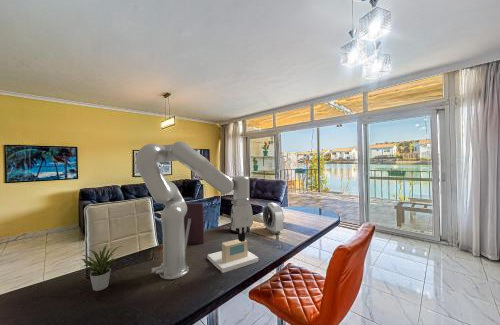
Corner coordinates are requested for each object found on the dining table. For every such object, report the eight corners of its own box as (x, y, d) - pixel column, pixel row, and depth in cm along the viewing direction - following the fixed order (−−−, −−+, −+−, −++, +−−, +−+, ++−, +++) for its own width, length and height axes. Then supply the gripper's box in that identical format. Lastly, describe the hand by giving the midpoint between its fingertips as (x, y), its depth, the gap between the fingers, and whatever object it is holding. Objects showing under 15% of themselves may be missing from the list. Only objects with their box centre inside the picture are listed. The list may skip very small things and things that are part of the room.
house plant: (116, 272, 100) (115, 237, 100) (129, 283, 91) (128, 244, 91) (77, 287, 89) (77, 247, 89) (87, 300, 80) (87, 256, 80)
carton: (221, 259, 109) (226, 262, 104) (221, 243, 108) (226, 246, 104) (242, 253, 115) (247, 256, 111) (242, 238, 115) (247, 241, 111)
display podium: (222, 273, 99) (222, 268, 99) (207, 258, 114) (207, 254, 114) (258, 261, 110) (258, 257, 110) (240, 249, 125) (240, 246, 125)
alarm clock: (262, 228, 163) (261, 201, 163) (271, 226, 167) (271, 200, 167) (274, 235, 147) (274, 205, 147) (285, 233, 151) (284, 204, 150)
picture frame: (204, 243, 136) (203, 202, 135) (198, 249, 126) (198, 206, 126) (178, 242, 137) (177, 202, 137) (171, 248, 127) (170, 205, 127)
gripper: (231, 205, 96) (231, 246, 96) (258, 201, 104) (259, 240, 105) (223, 202, 103) (223, 241, 103) (250, 199, 111) (250, 235, 111)
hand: (241, 240), depth 104 cm, fingers closed
